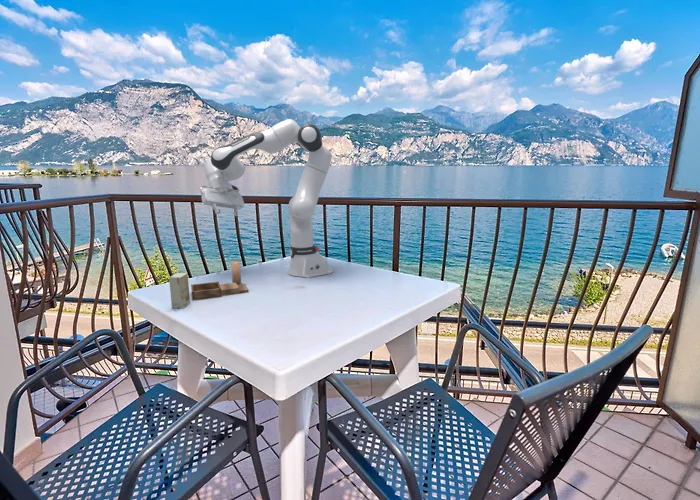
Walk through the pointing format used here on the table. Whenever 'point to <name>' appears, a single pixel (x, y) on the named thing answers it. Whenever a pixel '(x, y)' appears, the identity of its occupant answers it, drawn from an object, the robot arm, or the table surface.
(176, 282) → the skincare box
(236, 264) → the wooden block
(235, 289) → the wooden desk organizer
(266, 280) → the table surface
